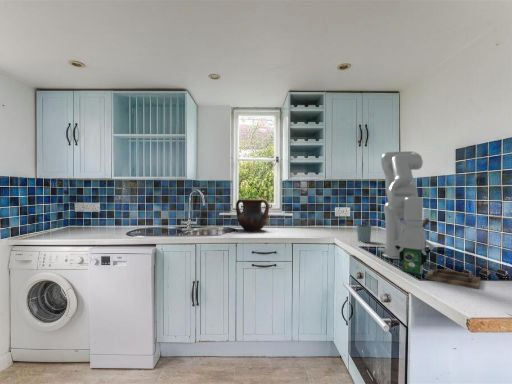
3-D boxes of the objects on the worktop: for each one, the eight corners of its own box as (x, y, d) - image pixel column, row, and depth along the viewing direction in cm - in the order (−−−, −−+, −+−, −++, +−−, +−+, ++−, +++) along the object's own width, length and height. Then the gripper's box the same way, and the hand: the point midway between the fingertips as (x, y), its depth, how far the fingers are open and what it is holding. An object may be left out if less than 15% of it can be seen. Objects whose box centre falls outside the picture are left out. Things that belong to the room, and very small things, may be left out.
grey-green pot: (373, 241, 205) (373, 225, 205) (368, 243, 198) (368, 226, 198) (359, 240, 212) (359, 224, 212) (354, 242, 205) (354, 225, 205)
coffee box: (423, 274, 125) (423, 245, 125) (420, 275, 124) (420, 246, 124) (405, 270, 132) (405, 242, 132) (402, 271, 130) (402, 243, 130)
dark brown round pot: (270, 229, 270) (271, 198, 270) (267, 233, 243) (268, 199, 242) (238, 228, 275) (238, 197, 275) (231, 232, 247) (231, 198, 247)
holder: (424, 279, 119) (424, 272, 119) (430, 271, 129) (430, 266, 129) (478, 289, 107) (478, 282, 107) (480, 280, 117) (480, 273, 117)
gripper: (390, 222, 131) (390, 260, 131) (433, 226, 119) (433, 266, 119) (394, 221, 136) (394, 257, 136) (436, 224, 125) (436, 263, 125)
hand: (412, 261), depth 128 cm, fingers closed on coffee box, 8 cm apart
